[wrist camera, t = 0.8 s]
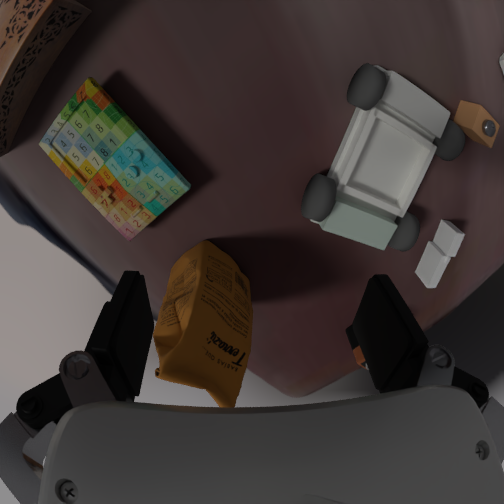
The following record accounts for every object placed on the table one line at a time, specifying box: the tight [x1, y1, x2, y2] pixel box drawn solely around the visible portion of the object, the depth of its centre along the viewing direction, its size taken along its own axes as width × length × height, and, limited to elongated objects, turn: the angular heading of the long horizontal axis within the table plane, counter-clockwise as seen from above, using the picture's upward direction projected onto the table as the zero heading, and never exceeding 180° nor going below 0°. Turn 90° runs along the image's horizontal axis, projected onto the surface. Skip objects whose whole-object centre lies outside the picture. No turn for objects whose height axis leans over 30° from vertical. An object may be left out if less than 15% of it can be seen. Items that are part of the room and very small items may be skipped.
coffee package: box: [153, 240, 253, 408], centre depth 36 cm, size 10×12×22 cm
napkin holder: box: [415, 219, 465, 288], centre depth 43 cm, size 15×11×6 cm
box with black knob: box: [453, 100, 500, 148], centre depth 30 cm, size 6×4×6 cm
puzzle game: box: [39, 77, 191, 241], centre depth 32 cm, size 12×5×20 cm
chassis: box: [301, 63, 465, 251], centre depth 34 cm, size 24×17×6 cm
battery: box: [346, 325, 369, 370], centre depth 50 cm, size 4×7×10 cm, turn 136°
